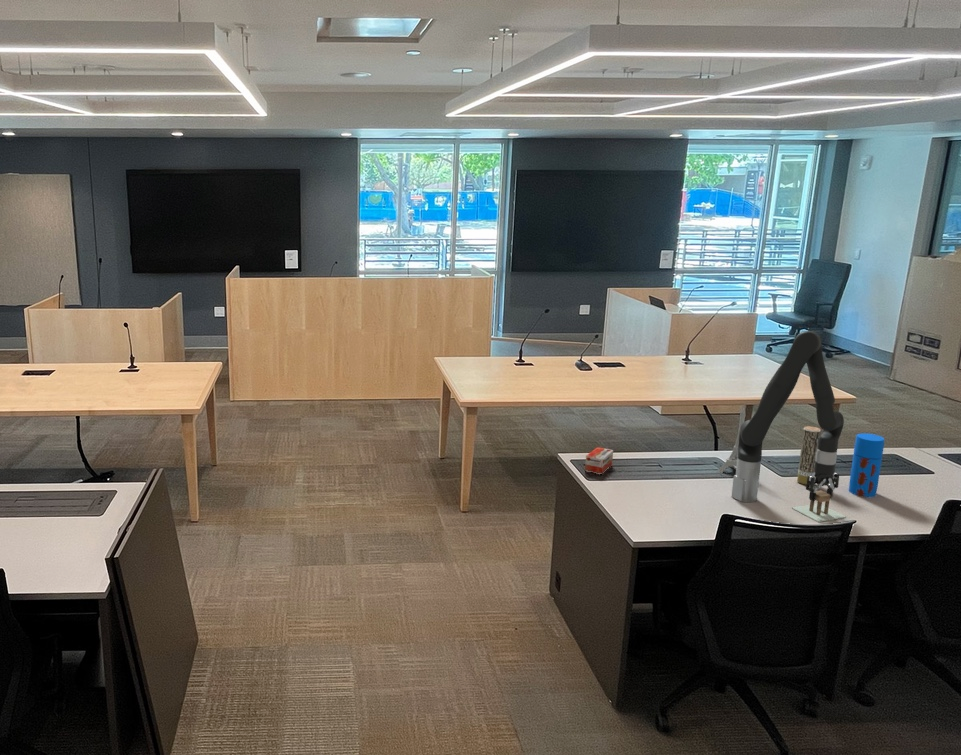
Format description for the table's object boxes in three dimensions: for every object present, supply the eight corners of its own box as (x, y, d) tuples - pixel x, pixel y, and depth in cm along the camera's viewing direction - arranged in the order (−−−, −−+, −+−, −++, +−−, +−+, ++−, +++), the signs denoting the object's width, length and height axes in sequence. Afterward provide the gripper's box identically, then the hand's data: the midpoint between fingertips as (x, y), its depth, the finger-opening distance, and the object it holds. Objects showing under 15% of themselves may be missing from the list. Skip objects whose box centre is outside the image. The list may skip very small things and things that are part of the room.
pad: (818, 522, 294) (818, 521, 294) (792, 508, 307) (792, 507, 306) (845, 517, 299) (846, 516, 299) (818, 504, 312) (818, 503, 311)
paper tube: (799, 478, 340) (806, 425, 334) (815, 482, 336) (822, 428, 330) (794, 482, 335) (801, 428, 329) (810, 486, 331) (818, 432, 325)
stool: (808, 510, 304) (811, 491, 302) (818, 508, 306) (820, 490, 304) (818, 515, 299) (820, 496, 298) (828, 513, 301) (830, 494, 299)
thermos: (853, 486, 333) (861, 431, 327) (879, 493, 325) (888, 437, 319) (844, 492, 325) (852, 436, 319) (870, 499, 318) (879, 442, 312)
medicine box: (601, 476, 338) (602, 459, 336) (584, 472, 342) (585, 455, 340) (612, 466, 351) (613, 449, 349) (596, 462, 355) (597, 446, 353)
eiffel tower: (716, 472, 346) (723, 408, 339) (728, 464, 356) (735, 403, 349) (745, 479, 338) (752, 414, 331) (756, 471, 348) (763, 408, 341)
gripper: (832, 455, 303) (826, 493, 307) (804, 459, 298) (799, 498, 302) (847, 462, 297) (841, 500, 300) (818, 465, 292) (813, 505, 295)
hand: (820, 499), depth 301 cm, fingers open, 8 cm apart
